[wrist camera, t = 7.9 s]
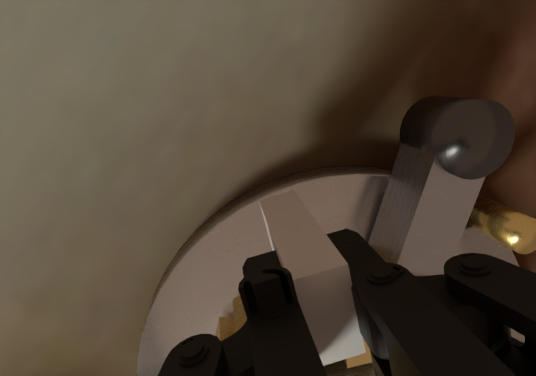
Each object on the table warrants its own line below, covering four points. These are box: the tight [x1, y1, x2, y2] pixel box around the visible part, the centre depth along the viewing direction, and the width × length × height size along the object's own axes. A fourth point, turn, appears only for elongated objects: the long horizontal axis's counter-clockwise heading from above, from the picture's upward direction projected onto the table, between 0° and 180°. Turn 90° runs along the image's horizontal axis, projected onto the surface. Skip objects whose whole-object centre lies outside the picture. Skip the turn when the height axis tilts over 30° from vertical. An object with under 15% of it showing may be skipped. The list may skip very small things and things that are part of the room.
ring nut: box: [215, 96, 515, 368], centre depth 17 cm, size 22×15×4 cm, turn 166°
